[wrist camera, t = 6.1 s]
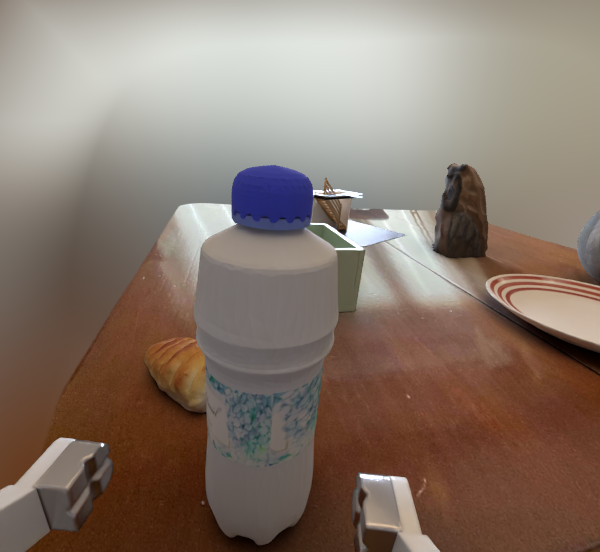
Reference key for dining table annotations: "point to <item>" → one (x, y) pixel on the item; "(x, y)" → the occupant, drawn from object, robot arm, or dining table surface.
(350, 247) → the open storage bin
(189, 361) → the pastry
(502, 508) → the dining table surface
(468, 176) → the brown carved statue
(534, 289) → the dinner plate
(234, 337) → the bottle
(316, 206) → the architectural model
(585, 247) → the bowl
